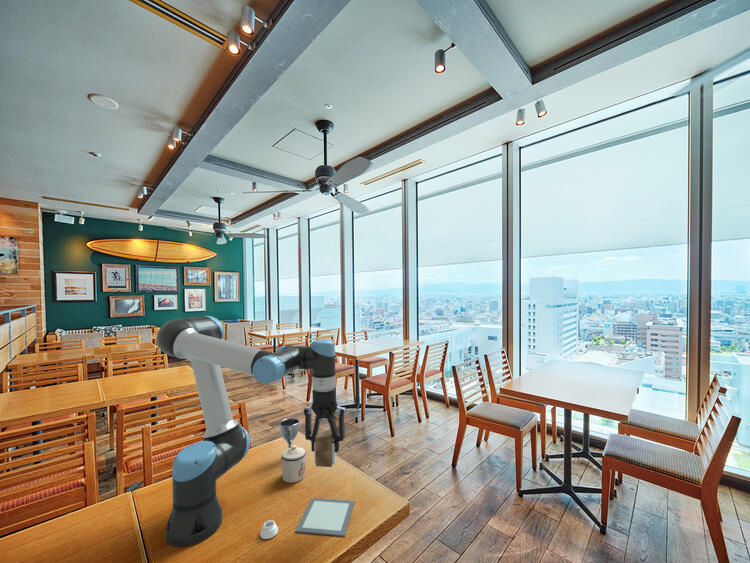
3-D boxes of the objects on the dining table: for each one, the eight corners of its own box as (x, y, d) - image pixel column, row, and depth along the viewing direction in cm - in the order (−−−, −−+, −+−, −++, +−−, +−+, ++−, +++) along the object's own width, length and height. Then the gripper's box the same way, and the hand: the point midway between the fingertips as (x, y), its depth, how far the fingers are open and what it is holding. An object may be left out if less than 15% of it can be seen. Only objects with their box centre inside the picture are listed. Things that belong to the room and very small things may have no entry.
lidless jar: (260, 529, 96) (259, 542, 91) (260, 519, 96) (259, 531, 91) (278, 525, 97) (277, 538, 92) (278, 516, 97) (277, 527, 92)
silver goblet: (276, 461, 134) (276, 425, 134) (285, 451, 141) (285, 417, 142) (294, 462, 132) (294, 426, 133) (302, 452, 140) (301, 418, 140)
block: (315, 466, 99) (315, 437, 99) (320, 457, 104) (319, 430, 104) (331, 467, 98) (330, 437, 99) (335, 458, 103) (334, 430, 104)
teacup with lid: (303, 483, 118) (303, 451, 118) (279, 484, 118) (278, 452, 118) (309, 465, 130) (308, 436, 130) (286, 466, 130) (286, 437, 130)
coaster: (295, 532, 94) (295, 530, 94) (311, 499, 109) (311, 497, 109) (344, 536, 92) (344, 535, 92) (354, 502, 107) (354, 500, 107)
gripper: (292, 391, 99) (294, 466, 99) (349, 392, 97) (351, 469, 96) (301, 384, 107) (302, 454, 106) (353, 385, 104) (355, 456, 104)
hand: (325, 461), depth 101 cm, fingers closed on block, 5 cm apart
